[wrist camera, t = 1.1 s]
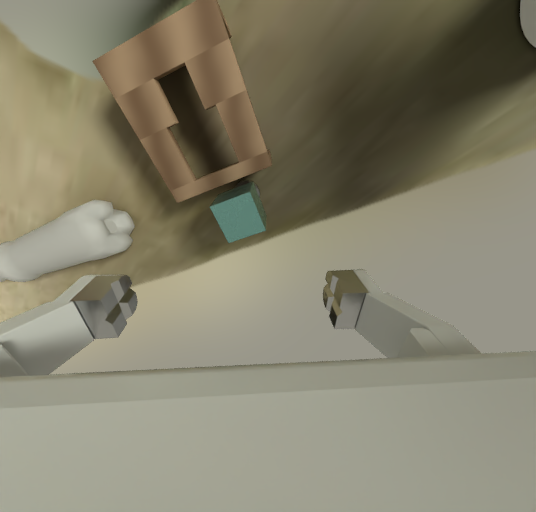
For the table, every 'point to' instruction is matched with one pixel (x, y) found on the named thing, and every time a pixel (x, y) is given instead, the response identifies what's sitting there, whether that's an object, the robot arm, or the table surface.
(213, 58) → the tan hollow wooden block
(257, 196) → the teal stemmed block
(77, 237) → the bottle
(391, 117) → the table surface
